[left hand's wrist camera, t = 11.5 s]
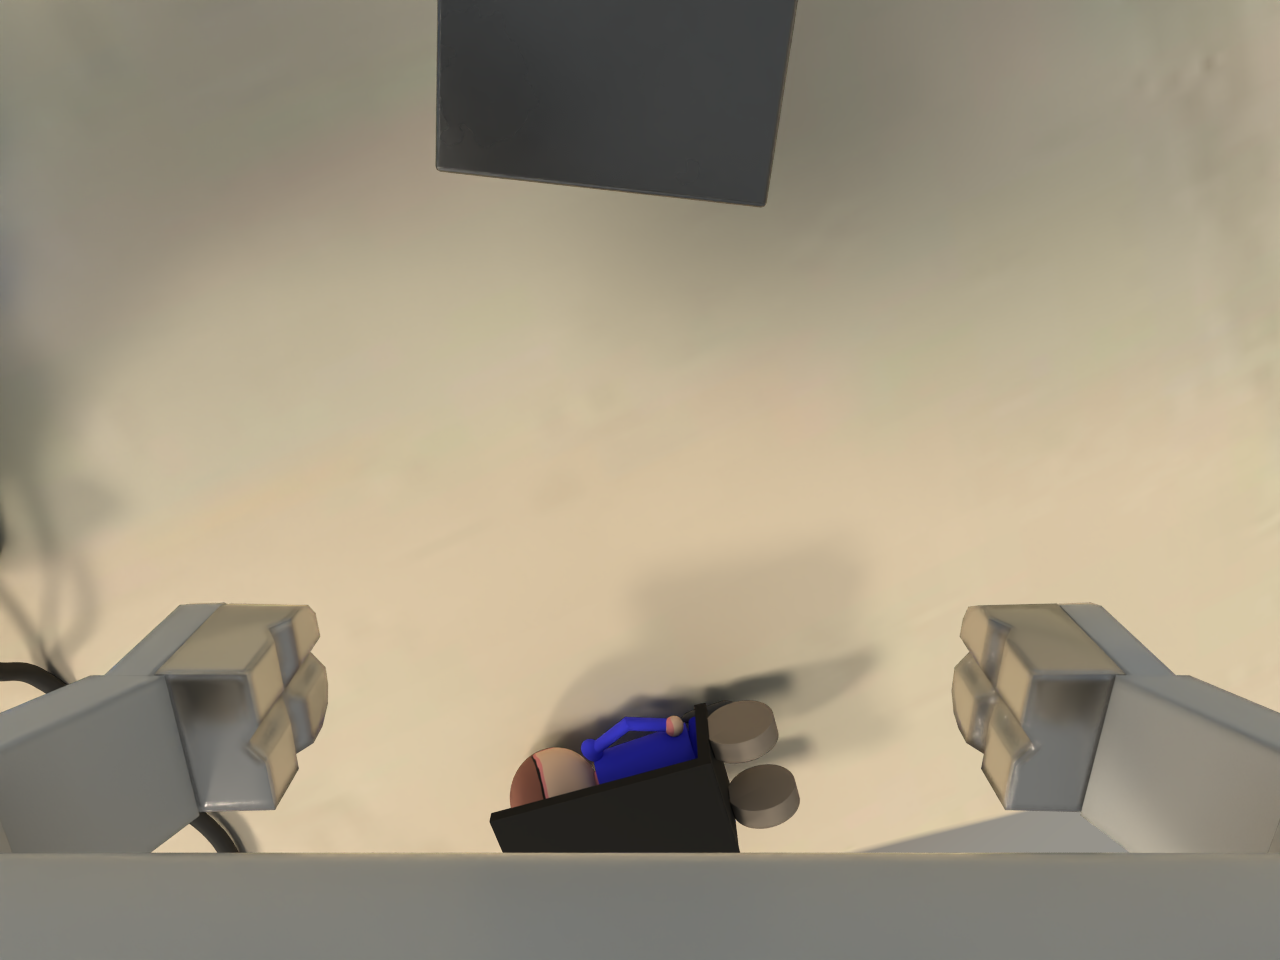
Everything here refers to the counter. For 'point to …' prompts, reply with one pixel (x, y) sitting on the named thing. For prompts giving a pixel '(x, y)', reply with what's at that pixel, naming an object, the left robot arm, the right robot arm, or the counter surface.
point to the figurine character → (652, 787)
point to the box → (615, 93)
